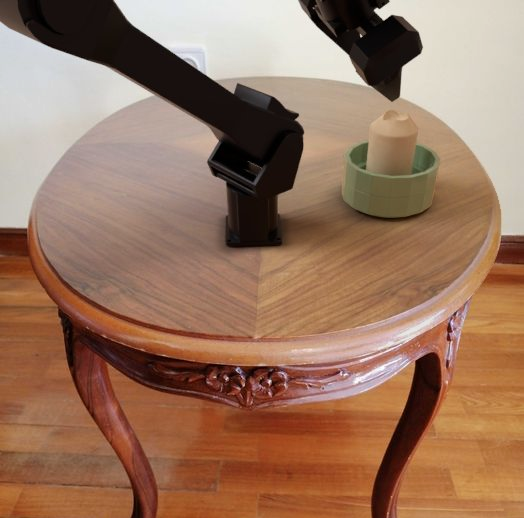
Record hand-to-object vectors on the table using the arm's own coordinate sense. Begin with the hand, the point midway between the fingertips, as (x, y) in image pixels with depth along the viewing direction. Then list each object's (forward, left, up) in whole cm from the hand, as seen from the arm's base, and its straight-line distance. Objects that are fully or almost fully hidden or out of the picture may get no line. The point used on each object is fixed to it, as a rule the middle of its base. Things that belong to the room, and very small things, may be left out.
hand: (377, 78), depth 69 cm
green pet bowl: (-5, -2, -13) cm, 14 cm away
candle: (-5, -2, -13) cm, 14 cm away
